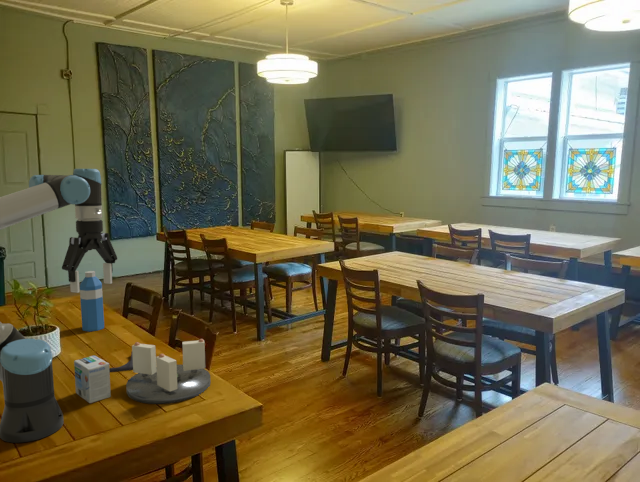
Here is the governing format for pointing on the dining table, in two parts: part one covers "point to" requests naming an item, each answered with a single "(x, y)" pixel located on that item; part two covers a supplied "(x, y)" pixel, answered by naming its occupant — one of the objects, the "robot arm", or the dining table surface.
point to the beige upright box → (193, 355)
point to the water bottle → (91, 303)
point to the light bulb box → (92, 378)
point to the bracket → (124, 366)
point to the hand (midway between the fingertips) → (92, 287)
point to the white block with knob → (166, 373)
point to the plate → (186, 389)
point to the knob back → (144, 359)
